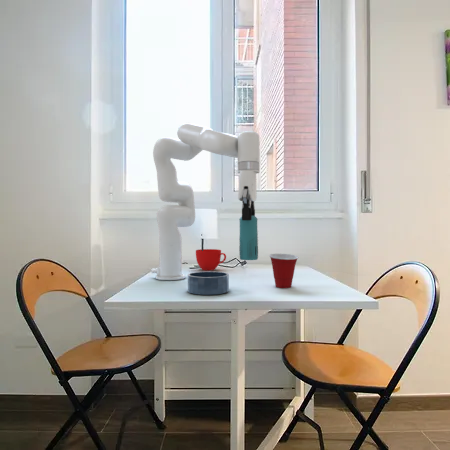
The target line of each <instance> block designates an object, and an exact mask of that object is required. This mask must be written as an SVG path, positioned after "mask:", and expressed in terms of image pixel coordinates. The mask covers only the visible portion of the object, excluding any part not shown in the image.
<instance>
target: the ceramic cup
mask: <svg viewBox="0 0 450 450" xmlns="http://www.w3.org/2000/svg"><path fill="white" fill-rule="evenodd" d="M222 255H223V260H222V261H221V257H222ZM195 259H196V263H197V265H198V266H199V268H200V269H201V271H215V270H216V269H217V268H218V267H219V265H221V264H222V263H225V262H226V260H227V255H226V253H225V252H222V250H221V249H217V248H203V251H202V248H201V249H196V250H195Z"/></svg>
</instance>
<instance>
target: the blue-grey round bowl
mask: <svg viewBox="0 0 450 450" xmlns="http://www.w3.org/2000/svg"><path fill="white" fill-rule="evenodd" d="M229 291H230V275H229V273H228V272H223V271H193V272H189V273H188V274H187V292H188V293H190V294H193V295H201V296H213V295H222V294H226V293H229Z"/></svg>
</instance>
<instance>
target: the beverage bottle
mask: <svg viewBox="0 0 450 450" xmlns="http://www.w3.org/2000/svg"><path fill="white" fill-rule="evenodd" d="M251 208H252V212H254V206H251ZM258 232H259V230H258V218H257V216H256V215H255V216H252V220H242V216H241V217H240V218H239V247H238V248H239V251H238V252H239V259H240V260H242V261H257V260H258V258H259V239H258V238H259V237H258V234H259V233H258Z"/></svg>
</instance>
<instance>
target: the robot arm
mask: <svg viewBox="0 0 450 450" xmlns="http://www.w3.org/2000/svg"><path fill="white" fill-rule="evenodd" d="M176 133H177V134H176V135H177V138H175V137H174V138H173V137H168V136H167V137H166V136H165V137H160V138H158V139H157V140H156V142H155V143H154V146H153V149H152V156H153V162H154V166H155V169H156V179H157V192H158V196H159V199H160V200H161V201H162V202H164V203H165V202H166V203H175V204H165V205H162V206H160V207H159V208H158V210H157V212H156V222H157V226H158V257H159V258H158V261H159V262H158V263H159V264H158V267H157V268H154V267H153V268H151V269H150V272H151V274H156V275H155V279H156V280H159V281H178V280H179V281H180V280H183V279H185V278H186V274H184V273H182V270H183V269H182V268H183V267H182V265H183V263H182V259H183V258H182V257H183V256H182V251H183V249H182V247H183V246H182V245H183V243H182V233H181V231H180V230H179V228H188V227H191V226H192V225H194V224H195V220H196V206H195V196H194V190H193V188H192V186H191V184H189V182H186V181H181V180H178V174H177V172H178V171H177V169H176V166H175V164H174V163H173V161H172V160H178V161H184V162H185V161H190V160H193V159H194V158H195V157H196V156H197V155H199V154H200V153H201V152H203V151H206V152H210V153H212V154H216V155H220V156H225V157H230V158H235V159H237V174H239V176H238V192H237V193H238V197H237V199H238V200H239V202H241V217H242V220H252V216H255V217H256V209H255V208H256V207H255V202H256V201H257V191H258V190H257V188H258V187H257V185H258V183H257V174H260V157H261V156H260V154H261V153H260V144H261V143H260V142H261V141H260V135H259V133H258V132H257V131H253V130H246V131H241V132H240V133H239V134H238V135H234V134H230V133H225V132H222V131H217V130H215V129H214V130H213V129H212V128H210V127H207V126H204V125H199V124H195V123H191V122H186V123H182V124H181V125H179V127H178V129H177V130H176ZM171 159H172V160H171ZM176 203H177V204H176ZM251 206H254V212H252V208H251Z"/></svg>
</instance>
